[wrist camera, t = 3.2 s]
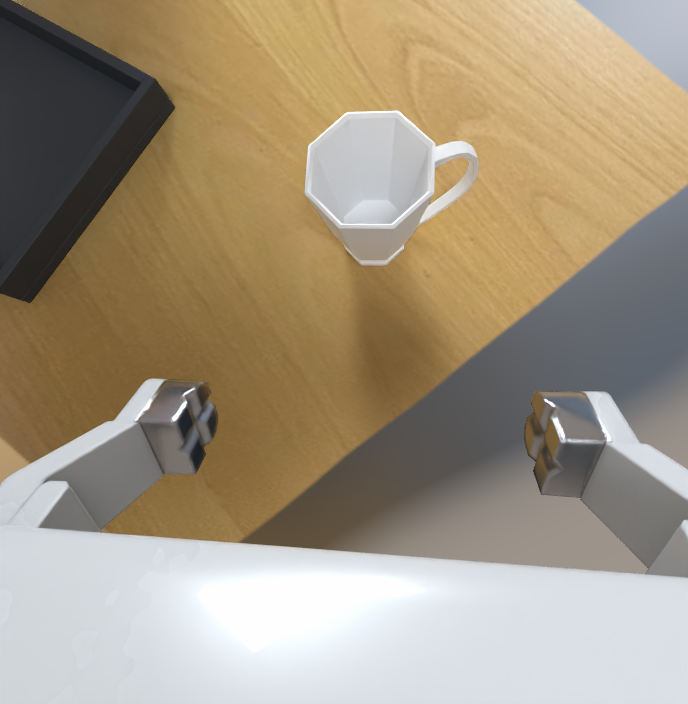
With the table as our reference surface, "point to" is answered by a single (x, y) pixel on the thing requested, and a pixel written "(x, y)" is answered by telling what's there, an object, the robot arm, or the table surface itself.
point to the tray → (61, 140)
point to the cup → (379, 181)
